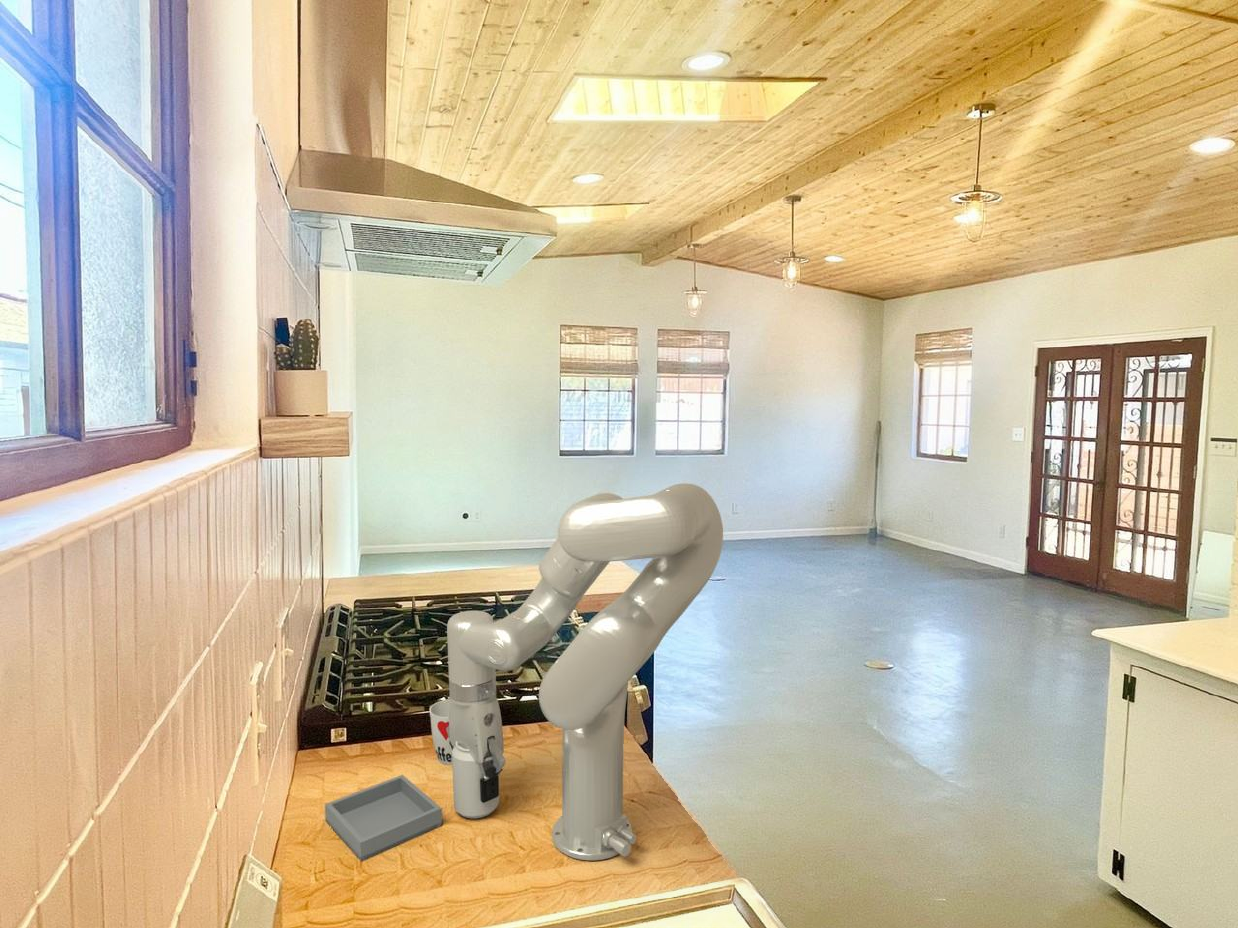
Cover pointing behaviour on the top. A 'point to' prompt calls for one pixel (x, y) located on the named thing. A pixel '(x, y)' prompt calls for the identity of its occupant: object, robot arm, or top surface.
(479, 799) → the can
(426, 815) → the bin
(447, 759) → the cup
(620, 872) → the top surface
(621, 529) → the robot arm
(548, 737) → the top surface
